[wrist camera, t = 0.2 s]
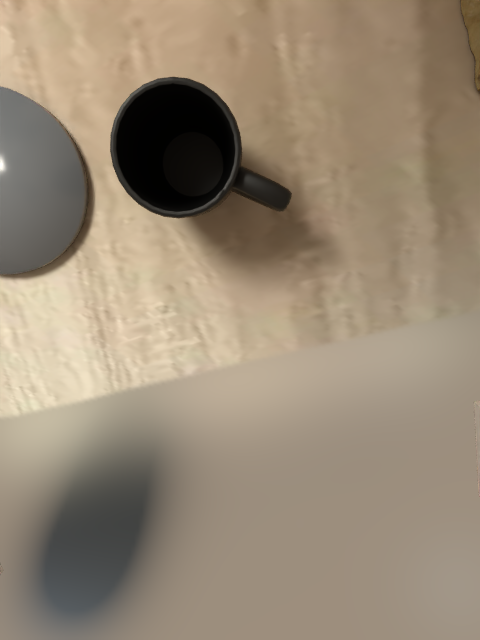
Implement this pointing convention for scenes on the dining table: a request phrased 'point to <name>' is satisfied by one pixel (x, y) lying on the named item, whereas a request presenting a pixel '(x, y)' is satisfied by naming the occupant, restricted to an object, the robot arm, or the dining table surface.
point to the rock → (473, 31)
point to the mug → (184, 151)
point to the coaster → (37, 185)
